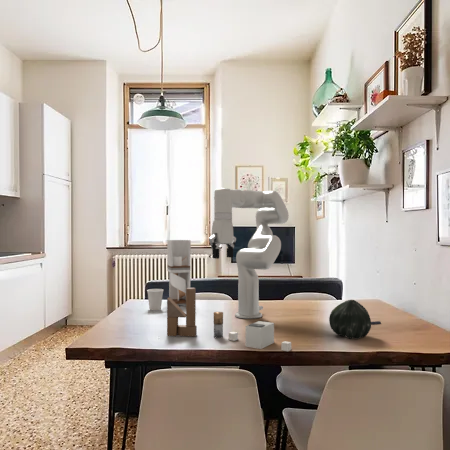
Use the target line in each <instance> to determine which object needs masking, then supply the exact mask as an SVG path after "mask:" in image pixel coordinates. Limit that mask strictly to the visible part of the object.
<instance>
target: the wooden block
mask: <svg viewBox="0 0 450 450" xmlns="http://www.w3.org/2000/svg"><path fill="white" fill-rule="evenodd" d="M196 289H197V288H196V287H190V288H186V306H185V311H184V310H183V309H182V308H181V306H178V305H177V304H176V303H175V302H174V301H173V300H172V299H171V298H170V297H167V298H166V303H167V304H166V310H167V311H166V336H167V337H176V336H180V337H188V338H189V337H190V338H192V337H193V338H194V337H196V336H197V328H198V327H197V325H196V314H197V313H196V301H197V300H196V298H197V297H196V295H197V294H196V293H197V292H196ZM179 318H185V324H179Z"/></svg>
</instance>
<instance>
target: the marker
mask: <svg viewBox="0 0 450 450" xmlns="http://www.w3.org/2000/svg"><path fill="white" fill-rule="evenodd" d="M280 343H281V345H280V346H281V349H280V350H281V351H284V352H290V351H292V341H286V340H285V341H282V342H280Z"/></svg>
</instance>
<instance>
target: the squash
mask: <svg viewBox="0 0 450 450" xmlns="http://www.w3.org/2000/svg"><path fill="white" fill-rule="evenodd" d="M370 316H371V315H370V314H369V312H368V310H367V309H366V308H365V306H364V305H363V304H361V303H360V302H359V301H357V300H355V299H348V300H346V301H344V302H342V303H340V304H337V306H336V307H334V308H333V309H332V310H331V312H330V314H329V317H328V323H329V327H330V329H331V330H332V331H333V332H334V333H335V334H337V335H338V336H343V337H346V338H347V339H350V340H352V339H355V340H359V339H360V338H365V337H366V336H367V335H368V334H369V333H370V331H371V328H372V325H371V322H372V319H371V317H370Z"/></svg>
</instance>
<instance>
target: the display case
mask: <svg viewBox="0 0 450 450" xmlns="http://www.w3.org/2000/svg"><path fill="white" fill-rule="evenodd" d="M191 242H192V241H191V240H190V239H167V244H166V245H167V246H166V247H167V248H166V249H167V251H166V253H167V254H166V255H167V256H166V257H167V259H166V266H167V267H166V271H167V272H168V274H169V275H168V276H169V277H168V286H169V287H168V288H169V290H168V293H169V294H168V295H169V297H170V298H171V299H172V300H173V301H174V302H175V303H176V304H177V305H178V306H179V305H186V288H191V269H192V268H191V265H192V264H191V258H192V257H191V252H192V251H191V250H192V245H191V244H192V243H191ZM169 297H168V298H169ZM179 307H180V306H179Z"/></svg>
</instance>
